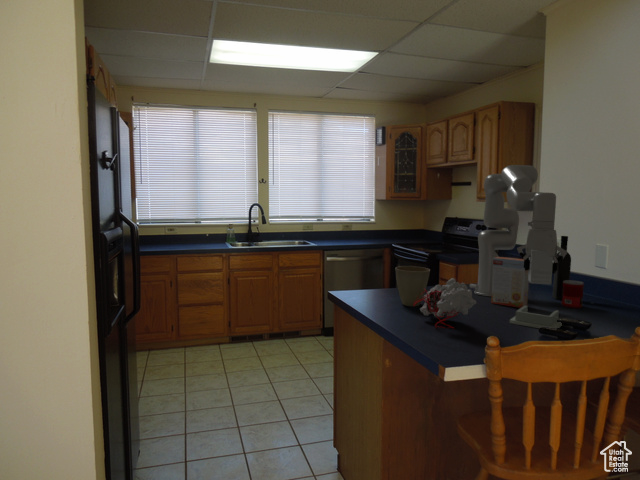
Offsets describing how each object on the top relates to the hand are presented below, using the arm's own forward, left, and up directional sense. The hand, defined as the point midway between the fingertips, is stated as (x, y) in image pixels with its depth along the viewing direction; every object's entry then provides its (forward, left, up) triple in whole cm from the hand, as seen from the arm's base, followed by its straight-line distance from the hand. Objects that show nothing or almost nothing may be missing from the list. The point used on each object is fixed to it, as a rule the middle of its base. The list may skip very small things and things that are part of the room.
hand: (540, 271), depth 172 cm
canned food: (+5, +41, -20) cm, 46 cm away
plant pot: (-50, -5, -20) cm, 54 cm away
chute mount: (0, 0, -20) cm, 20 cm away
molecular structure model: (-26, -26, -20) cm, 42 cm away
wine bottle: (-2, +54, -20) cm, 58 cm away
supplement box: (0, 0, -4) cm, 4 cm away
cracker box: (-17, +24, -20) cm, 36 cm away
